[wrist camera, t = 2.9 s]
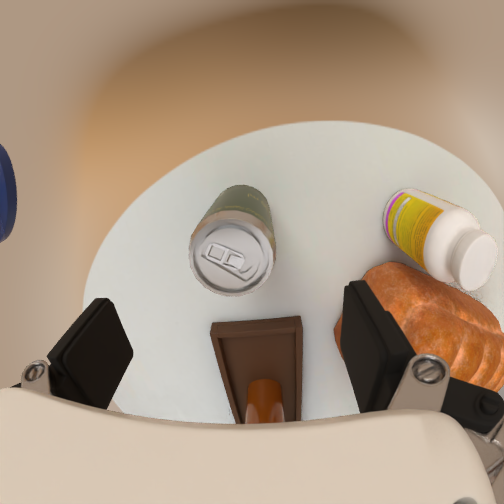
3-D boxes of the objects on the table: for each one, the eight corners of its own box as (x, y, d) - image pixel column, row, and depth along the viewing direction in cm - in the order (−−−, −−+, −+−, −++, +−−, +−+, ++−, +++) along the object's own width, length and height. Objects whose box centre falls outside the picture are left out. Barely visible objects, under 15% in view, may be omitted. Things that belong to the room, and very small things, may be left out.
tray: (240, 428, 42) (240, 437, 40) (212, 322, 32) (209, 333, 30) (299, 424, 41) (300, 433, 39) (300, 315, 31) (302, 326, 29)
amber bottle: (248, 400, 37) (246, 467, 26) (244, 379, 35) (240, 452, 24) (282, 398, 37) (287, 465, 26) (281, 377, 35) (287, 450, 24)
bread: (440, 365, 36) (476, 427, 22) (320, 339, 33) (346, 443, 18) (485, 301, 31) (538, 357, 17) (375, 245, 28) (454, 329, 13)
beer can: (207, 223, 27) (173, 279, 16) (227, 174, 25) (204, 198, 14) (255, 244, 28) (253, 311, 17) (278, 197, 26) (293, 238, 15)
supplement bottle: (381, 248, 28) (442, 312, 16) (379, 190, 25) (454, 228, 14) (428, 239, 27) (496, 291, 15) (428, 184, 25) (508, 216, 13)
